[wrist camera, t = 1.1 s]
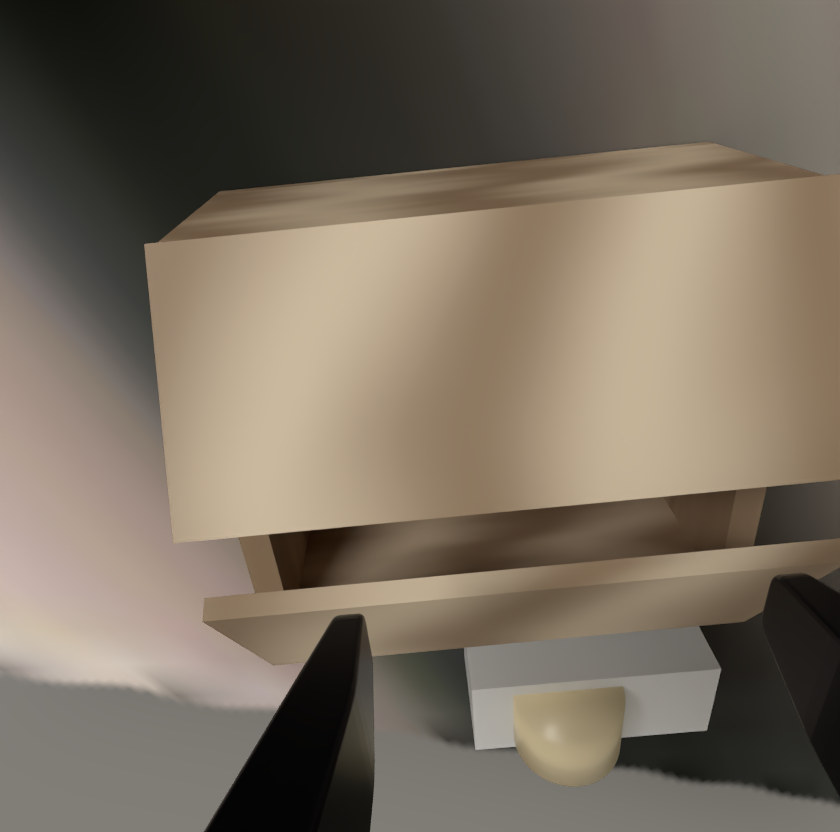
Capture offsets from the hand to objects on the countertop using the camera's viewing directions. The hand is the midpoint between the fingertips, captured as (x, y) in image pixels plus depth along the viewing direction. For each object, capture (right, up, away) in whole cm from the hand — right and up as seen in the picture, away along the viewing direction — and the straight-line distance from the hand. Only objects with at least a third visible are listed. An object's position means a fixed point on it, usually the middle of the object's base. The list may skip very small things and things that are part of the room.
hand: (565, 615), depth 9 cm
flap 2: (0, -2, +7) cm, 8 cm away
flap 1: (0, +4, +4) cm, 6 cm away
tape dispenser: (+4, -6, +19) cm, 20 cm away
